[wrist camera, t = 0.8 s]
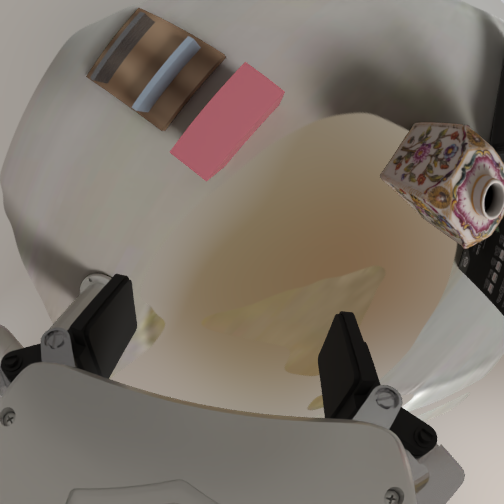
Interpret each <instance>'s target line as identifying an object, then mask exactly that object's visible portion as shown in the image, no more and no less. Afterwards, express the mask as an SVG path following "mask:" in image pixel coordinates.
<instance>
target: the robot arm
mask: <svg viewBox="0 0 504 504" xmlns="http://www.w3.org/2000/svg"><path fill="white" fill-rule="evenodd" d="M136 329H137V321H136V314H135V306H134V298H133V290H132V282H131V280H129V278H128V276H124V275H120V274H115V275H114V276H113V277H112V278H111V277H109V276H106V275H103V274H97V273H95V274H91V275H89V276H87V277H86V278H85V279H84V280H83V281H82V283H81V286H80V295H79V296H78V297H77V298H76V300H75V301H74V302H73V303H72V304H71V305H70V306H69V307H68V308H67V309H66V310H65V312H64V313H63V314H62V315H61V316H60V317H59V318H58V319H57V321H56V322H55V323H54V324H53V325H52V326H51V327H50V329H49V330H48V331H46V332H45V333H44V334H43V336H42V338H41V343H40V344H37V345H33V346H30V347H26V348H24V347H23V346H22V345H21V344H20V343H19V342H18V341H17V339H16V338H15V337H14V336H13V335H12V333H11V332H10V331H9V330H8V329H7V328H5V327H4V326H2V325H0V504H446V502H447V501H448V500H449V499H450V498H451V497H452V496H453V494H454V493H455V492H456V491H457V489H458V488H459V487H460V486H461V484H462V483H463V481H464V477H465V474H464V470H463V469H462V467H461V466H460V465H459V464H458V463H457V461H456V460H455V459H454V458H453V457H452V456H451V455H450V454H449V453H448V451H447V450H446V449H445V448H444V447H443V446H442V445H440V446H438V445H437V435H436V432H435V430H434V429H433V428H432V427H431V426H429V425H427V424H426V423H425V422H423V421H422V420H420V419H419V418H417V417H415V416H414V415H412V414H411V413H409V412H408V411H406V410H405V409H403V408H402V407H401V405H402V397H401V395H400V393H399V392H398V391H397V390H396V389H394V388H393V387H391V386H388V385H380V382H379V379H378V376H377V373H376V370H375V367H374V363H373V360H372V358H371V354H370V352H369V349H368V346H367V344H366V342H364V341H363V338H362V335H361V333H360V330H359V327H358V324H357V321H356V318H355V316H354V314H353V313H352V312H343V311H341V312H340V313H339V314H336V315H335V317H334V320H333V322H332V325H331V327H330V330H329V332H328V335H327V337H326V339H325V342H324V344H323V346H322V349H321V351H320V353H319V356H318V366H319V373H320V381H321V388H322V396H323V405H324V413H325V418H307V417H292V416H279V415H269V414H259V413H251V412H243V411H237V410H230V409H224V408H218V407H212V406H206V405H202V404H197V403H192V402H188V401H183V400H179V399H175V398H171V397H167V396H163V395H159V394H155V393H152V392H148V391H145V390H141V389H138V388H134V387H131V386H128V385H125V384H122V383H119V382H116V381H113V380H110V379H109V377H110V375H111V374H112V372H113V370H114V368H115V366H116V364H117V363H118V361H119V359H120V357H121V356H122V354H123V352H124V350H125V348H126V347H127V345H128V343H129V342H130V340H131V338H132V336H133V335H134V333H135V331H136Z"/></svg>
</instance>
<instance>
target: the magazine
mask: <svg viewBox="0 0 504 504" xmlns="http://www.w3.org/2000/svg"><path fill="white" fill-rule="evenodd" d="M490 145H491V146H492V147H493V148H494V149H495V151H496V152H497V154H498V155H499V156H500V158H501V160H502V162H503V164H504V67H503V71H502V75H501V80H500V85H499V91H498V97H497V103H496V109H495V115H494V122H493V129H492V136H491V142H490Z"/></svg>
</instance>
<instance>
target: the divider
mask: <svg viewBox="0 0 504 504" xmlns="http://www.w3.org/2000/svg"><path fill="white" fill-rule="evenodd" d="M200 48H201V47H200V46H199V45H198V43H197V42H196V41H195V40H194V39H193V38H191V37H189V36H188V37H187V38H186V39H185V40H184V41H183V42H182V43H181V44H180V46H179V47H178V48H177V49H176V50H175V51H174V52H173V54H172V55H171V56H170V57H169V58H168V59H167V61H166V62H165V63H164V64H163V65H162V67H161V68H160V69H159V70H158V72H157V73H156V74H155V75H154V77H153V78H152V79H151V81H150V82H149V83H148V85H147V86H146V87H145V89H144V90H143V91H142V93H141V94H140V95H139V97H138V98H137V100H136V101H135V103H134V104H133V106H132V108H133V109H134V110H136V111H141V112H149V111H150V109H151V108H152V107H153V105H154V104H155V103H156V101H157V100H158V99H159V97H160V96H161V95H162V93H163V92H164V91H165V89H166V88H167V87H168V86H169V84H170V83H171V82H172V81H173V79H174V78H175V77H176V76H177V75H178V73H179V72H180V71H181V70H182V69H183V67H184V66H185V65H186V64H187V63H188V62H189V61H190V59H191V58H192V57H193V56H194V55H195V54H196V53H197V52H198V51H199V49H200Z"/></svg>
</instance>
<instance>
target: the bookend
mask: <svg viewBox="0 0 504 504" xmlns="http://www.w3.org/2000/svg"><path fill="white" fill-rule="evenodd" d="M154 23H155V22H154V21H153V20H152V19H151V18H150V17H149V16H147V15H146V14H145V13H143V12H141V11H140V12H139V14H138V15H137V16H136V17H135V18H134V19H133V20H132V21H131V23H130V24H129V25H128V26H127V27H126V29H125V30H124V31H123V32H122V33H121V35H120V36H119V37H118V38H117V40H116V41H115V42H114V44H113V45H112V46H111V48H110V49H109V50H108V52H107V53H106V54H105V56H104V57H103V59H102V60H101V62H100V63H99V65H98V66H97V67H96V69H95V70H94V72H93V74H92V75H91V77H90V79H92V80H93V81H98V82H103V83H107V84H108V82H109V81H110V79H111V78H112V76H113V75H114V73H115V72H116V70H117V69H118V68H119V66H120V65H121V63H122V62H123V61H124V59H125V58H126V57H127V55H128V54H129V53H130V52H131V50H132V49H133V48H134V46H135V45H136V44H137V43H138V42H139V40H140V39H141V38H142V37H143V36H144V34H145V33H146V32H147V31H148V30H149V29H150V28H151V26H152V25H153V24H154Z"/></svg>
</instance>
